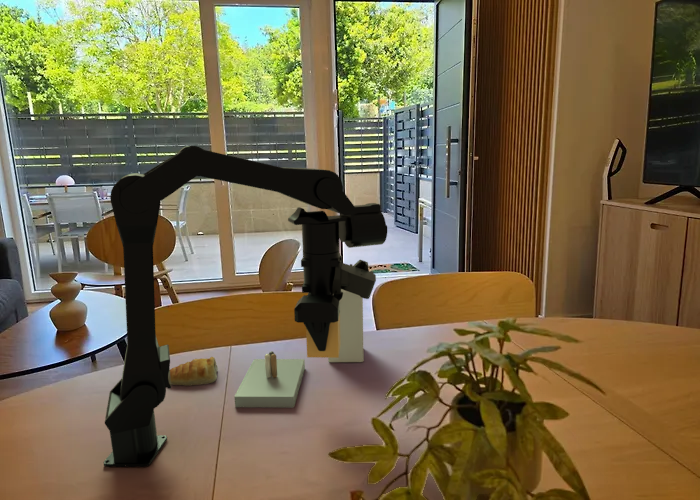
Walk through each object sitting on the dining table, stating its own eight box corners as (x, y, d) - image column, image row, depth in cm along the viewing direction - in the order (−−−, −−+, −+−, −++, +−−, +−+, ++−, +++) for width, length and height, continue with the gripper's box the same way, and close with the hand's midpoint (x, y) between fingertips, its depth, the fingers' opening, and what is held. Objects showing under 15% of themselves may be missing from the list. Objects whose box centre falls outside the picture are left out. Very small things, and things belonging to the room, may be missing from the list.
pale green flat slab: (293, 407, 78) (292, 371, 76) (235, 407, 78) (232, 371, 76) (304, 368, 91) (303, 337, 90) (254, 368, 92) (252, 337, 90)
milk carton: (363, 362, 93) (362, 272, 89) (328, 363, 93) (325, 272, 89) (363, 347, 100) (362, 263, 96) (330, 348, 100) (328, 263, 96)
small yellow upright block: (338, 357, 73) (337, 321, 72) (307, 357, 73) (305, 321, 72) (340, 344, 78) (339, 310, 76) (311, 344, 78) (309, 310, 77)
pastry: (164, 391, 84) (162, 372, 83) (168, 375, 90) (166, 357, 89) (218, 384, 86) (216, 365, 85) (218, 368, 93) (216, 350, 92)
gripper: (373, 265, 62) (373, 371, 66) (372, 238, 81) (372, 322, 84) (291, 265, 63) (296, 370, 66) (309, 239, 81) (311, 322, 84)
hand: (323, 343), depth 75 cm, fingers closed on small yellow upright block, 5 cm apart
